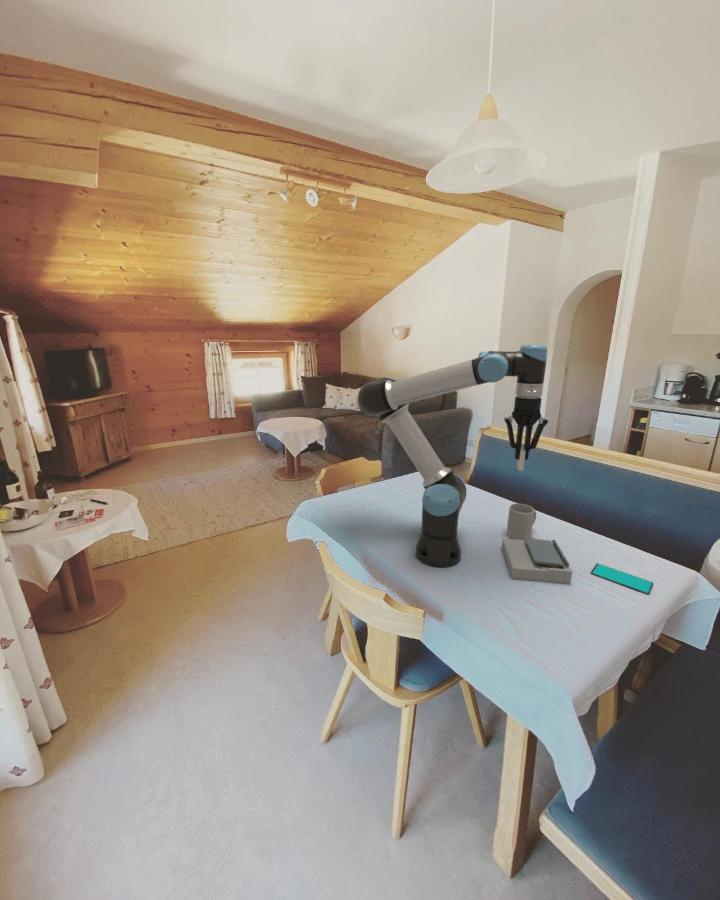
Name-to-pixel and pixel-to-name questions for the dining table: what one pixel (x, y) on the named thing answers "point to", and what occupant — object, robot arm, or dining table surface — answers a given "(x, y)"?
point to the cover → (545, 552)
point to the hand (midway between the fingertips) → (520, 468)
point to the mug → (520, 521)
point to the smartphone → (622, 578)
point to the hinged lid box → (532, 564)
